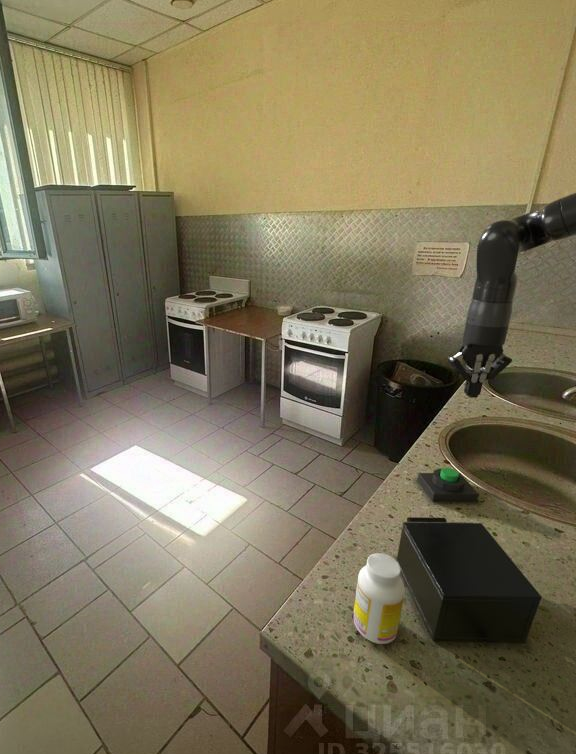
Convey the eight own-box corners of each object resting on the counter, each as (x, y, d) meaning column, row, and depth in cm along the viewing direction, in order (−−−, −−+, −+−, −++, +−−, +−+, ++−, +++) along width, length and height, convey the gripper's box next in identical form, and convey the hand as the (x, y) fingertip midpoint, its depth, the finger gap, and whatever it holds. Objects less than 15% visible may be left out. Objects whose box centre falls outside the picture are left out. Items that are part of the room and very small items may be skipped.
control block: (458, 480, 97) (461, 466, 96) (477, 502, 90) (480, 487, 88) (417, 480, 98) (419, 466, 96) (432, 501, 90) (435, 487, 89)
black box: (395, 563, 75) (403, 522, 71) (470, 564, 74) (481, 522, 71) (432, 641, 61) (443, 595, 57) (525, 643, 60) (542, 596, 57)
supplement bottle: (400, 619, 64) (412, 559, 60) (391, 654, 59) (404, 592, 55) (359, 599, 68) (367, 541, 63) (347, 631, 63) (355, 570, 58)
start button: (452, 473, 94) (453, 467, 94) (460, 483, 91) (462, 476, 90) (437, 473, 94) (438, 467, 94) (444, 482, 91) (445, 476, 90)
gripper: (465, 326, 79) (449, 404, 85) (532, 324, 79) (512, 403, 85) (445, 317, 86) (433, 390, 92) (508, 316, 86) (491, 389, 92)
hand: (471, 396), depth 88 cm, fingers closed
